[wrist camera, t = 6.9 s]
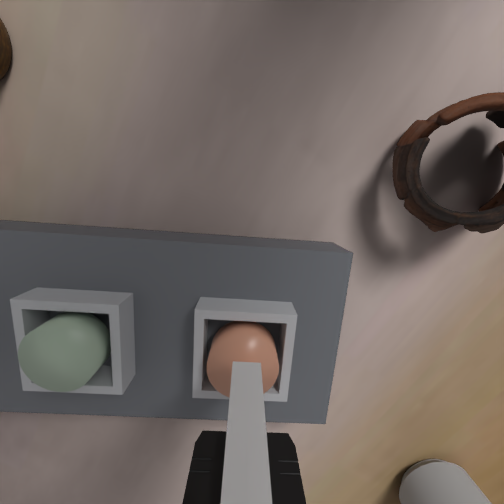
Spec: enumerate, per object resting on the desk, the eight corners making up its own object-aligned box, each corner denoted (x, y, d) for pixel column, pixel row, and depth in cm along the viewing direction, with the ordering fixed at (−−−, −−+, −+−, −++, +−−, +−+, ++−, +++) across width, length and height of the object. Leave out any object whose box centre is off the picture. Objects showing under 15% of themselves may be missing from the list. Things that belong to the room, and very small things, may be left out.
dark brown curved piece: (464, 247, 22) (497, 270, 15) (368, 191, 25) (357, 188, 18) (610, 104, 17) (767, 35, 10) (467, 55, 20) (507, -26, 12)
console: (-123, 211, 19) (-282, 217, 14) (332, 242, 21) (367, 260, 15) (-84, 369, 22) (-202, 430, 16) (312, 386, 24) (333, 448, 18)
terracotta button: (212, 318, 16) (207, 334, 15) (278, 321, 17) (282, 338, 15) (209, 375, 17) (205, 398, 15) (272, 378, 18) (275, 401, 16)
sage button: (41, 308, 16) (12, 324, 14) (110, 312, 16) (92, 328, 14) (48, 368, 17) (22, 390, 15) (113, 371, 17) (96, 393, 15)
